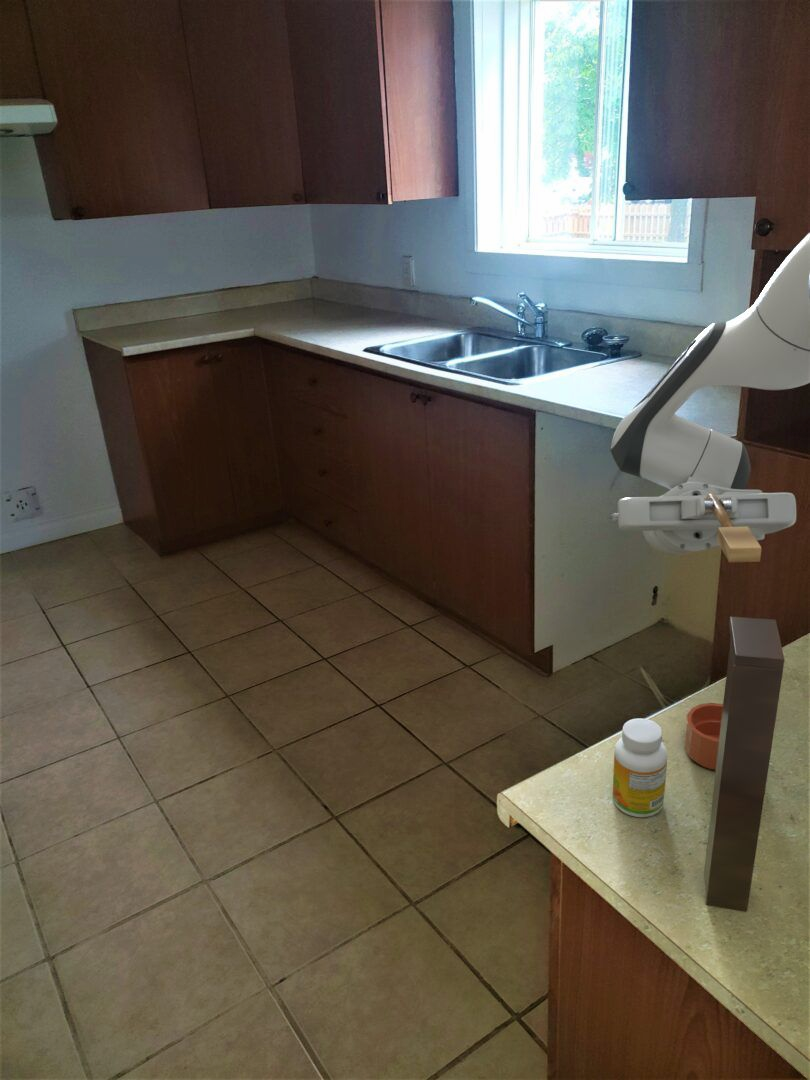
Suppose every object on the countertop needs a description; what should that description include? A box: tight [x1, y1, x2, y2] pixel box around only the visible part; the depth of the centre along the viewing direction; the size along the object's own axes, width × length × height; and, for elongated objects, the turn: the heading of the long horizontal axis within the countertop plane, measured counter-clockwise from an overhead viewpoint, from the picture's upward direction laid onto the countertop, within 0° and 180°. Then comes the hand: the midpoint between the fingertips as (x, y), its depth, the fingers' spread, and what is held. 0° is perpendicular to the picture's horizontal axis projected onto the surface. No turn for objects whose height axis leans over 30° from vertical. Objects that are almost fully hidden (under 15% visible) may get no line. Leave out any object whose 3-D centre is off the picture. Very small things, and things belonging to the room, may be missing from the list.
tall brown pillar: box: [703, 616, 785, 913], centre depth 73 cm, size 4×6×28 cm, turn 164°
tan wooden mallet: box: [706, 493, 763, 563], centre depth 88 cm, size 15×3×2 cm, turn 174°
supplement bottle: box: [612, 717, 668, 818], centre depth 87 cm, size 5×5×10 cm
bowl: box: [683, 702, 723, 771], centre depth 94 cm, size 7×7×4 cm
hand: (718, 505), depth 91 cm, fingers closed on tan wooden mallet, 1 cm apart
